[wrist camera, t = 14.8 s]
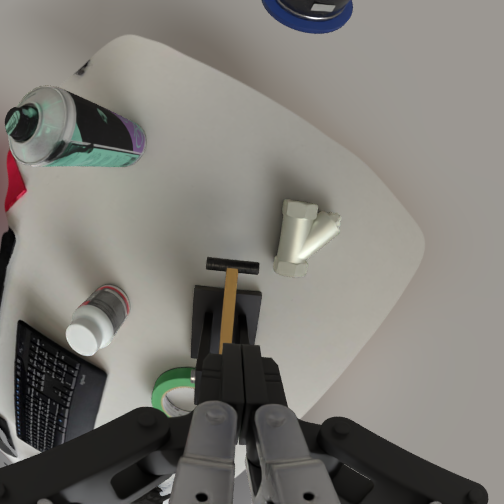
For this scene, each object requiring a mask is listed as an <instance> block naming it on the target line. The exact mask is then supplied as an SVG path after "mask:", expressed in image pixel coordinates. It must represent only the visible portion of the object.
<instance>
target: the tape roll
mask: <svg viewBox="0 0 504 504" xmlns="http://www.w3.org/2000/svg"><path fill="white" fill-rule="evenodd" d="M192 369H195V368H176V369H172V370H169V371H167V372H165V373H163V374H162V375H161V376H160V377H159V378H158V379H157V381H156V383H155V386H154V389H153V393H152V398H151V400H152V405H153V408H156V409H159V410H161V411H162V412H164V413H165V414H166V415H167V416H168V417H178V416H183V415H186V414H188V413H190V412H187V411H183V410H180V409H178V408H176V407H175V406H173V405H172V404H171V403H170V402H169V401H168V399H167V397H166V394H167V393H168V392H170V391H171V390H173V389H176V388H193V389H195V384H193V383H191V382H190V378H191V370H192Z"/></svg>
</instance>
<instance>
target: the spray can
mask: <svg viewBox="0 0 504 504" xmlns="http://www.w3.org/2000/svg"><path fill="white" fill-rule="evenodd" d="M5 127H6V132H7V134H8V135H9V136H8V138H9V146H10V149H11V152H12V154H13V156H14V157H15V159H16V160H17V161H19V162H20V163H21V164H24V165H30V166H34V167H45V166H102V167H127V166H130V165H132V164H134V163H136V162H137V161H138V160H139V159H140V158H141V157H142V155H143V153H144V151H145V148H146V135H145V133H144V131H143V129H142V128H141V127H140V126H139V125H138V124H136V123H134V122H132V121H130V120H128V119H126V118H124V117H122V116H120V115H118V114H116V113H114V112H112V111H110V110H108V109H106V108H103V107H101V106H99V105H97V104H95V103H93V102H91V101H88V100H86V99H84V98H82V97H80V96H77V95H75V94H73V93H71V92H68V91H66V90H64V89H61V88H59V87H53V86H47V85H45V86H40V87H37V88H35V89H33V90H32V91H30V92H29V93H28V94H26V95H25V96H24V97H23V99H22V100H21V101H20V102H19V104H18V106H17V107H14V108H12V109H10V111H9V112H8V113H7V115H6V118H5Z"/></svg>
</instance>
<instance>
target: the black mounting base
mask: <svg viewBox="0 0 504 504" xmlns="http://www.w3.org/2000/svg"><path fill="white" fill-rule="evenodd" d="M224 290H225V289H224V288H215V287H206V286H197V285H195V288H194V299H193V317H192V339H191V358H195V359H197V363H196V369H192V370H191V378H190V382H191V383H193V384H195V394H194V404H195V405H197V404H198V398H199V389H200V381H201V373H202V366H203V360H204V359H205V357H206V356H207V355H208V354H209V353H213V354H219V345H220V333H221V322H222V311H223V300H224ZM261 299H262V294H261V292H255V291H244V290H236V300H235V311H234V323H233V334H232V343H233V344H241V345H242V344H246V345H254V343H255V337H256V331H257V325H258V318H259V312H260V305H261Z"/></svg>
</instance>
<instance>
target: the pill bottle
mask: <svg viewBox="0 0 504 504" xmlns="http://www.w3.org/2000/svg"><path fill="white" fill-rule="evenodd" d="M129 311H130V304H129V301H128V298H127V296H126V295H125V293H124V292H123V291H122V290H121V289H119V288H118V287H115V286H112V285H104V286H101V287H100V288H98V289H97V290H96V291H95V292H94V293H93V294H92V295H91V296H90V297H89V298H88V299H87V300H86V301H84V302H83V303H82V304H81V305H80V306H79V307H78V308H77V309H76V310H75V312H74V313H73V316H72V322H71V324H70V325H69V326H68V328H67V330H66V338H67V341H68V343H69V345H70V346H71V347H72V348H73V349H74V350H75V351H76V352H77V353H79V354H81V355H85V356H91V355H93V354H95V353H96V351H97V350H98V349H100V348H104V347H106V346H107V345H108V344H109V343H110V342H111V341H112V339H113V338H114V336H115V335H116V333H117V332H118V330H119V328H120V327H121V325H122V324H123V322H124V321H125V320H126V318H127V316H128V314H129Z"/></svg>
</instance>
